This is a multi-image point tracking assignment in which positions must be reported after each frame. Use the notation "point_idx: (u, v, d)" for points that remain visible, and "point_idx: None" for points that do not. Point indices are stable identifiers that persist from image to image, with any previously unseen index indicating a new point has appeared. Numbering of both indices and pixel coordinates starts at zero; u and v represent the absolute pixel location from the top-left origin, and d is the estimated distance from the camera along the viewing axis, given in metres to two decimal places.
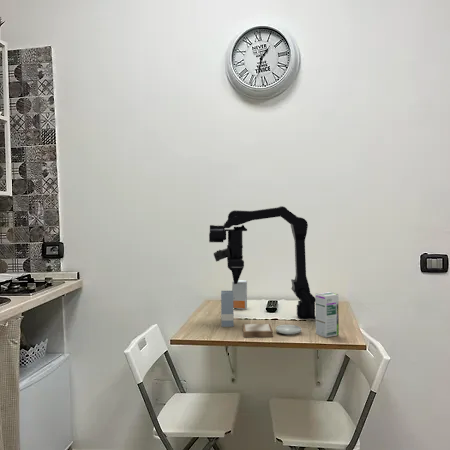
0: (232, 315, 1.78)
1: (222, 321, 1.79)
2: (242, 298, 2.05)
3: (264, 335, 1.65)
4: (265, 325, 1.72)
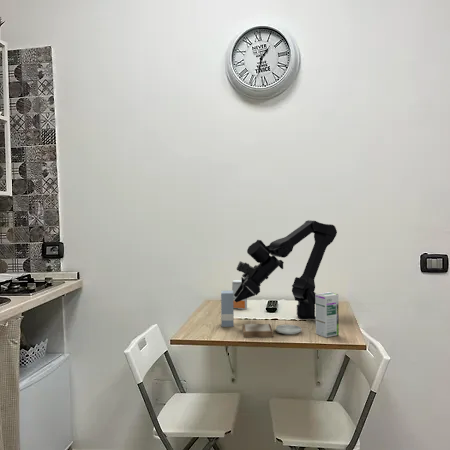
0: (232, 315, 1.78)
1: (222, 321, 1.79)
2: None
3: (264, 335, 1.65)
4: (265, 325, 1.72)
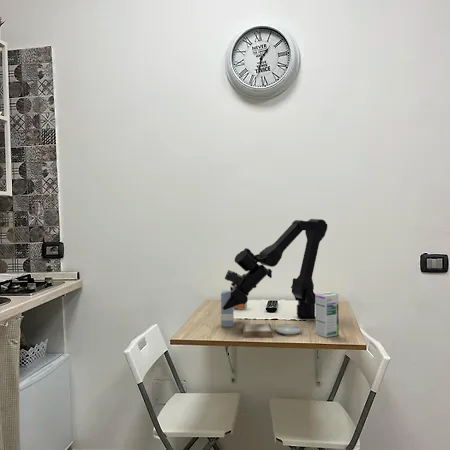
0: (232, 315, 1.78)
1: (221, 321, 1.79)
2: None
3: (264, 335, 1.65)
4: (265, 325, 1.72)
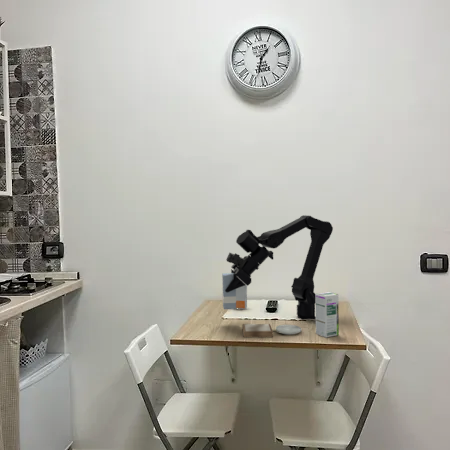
0: (234, 297, 1.77)
1: (224, 304, 1.77)
2: (242, 298, 2.05)
3: (264, 335, 1.65)
4: (265, 325, 1.72)
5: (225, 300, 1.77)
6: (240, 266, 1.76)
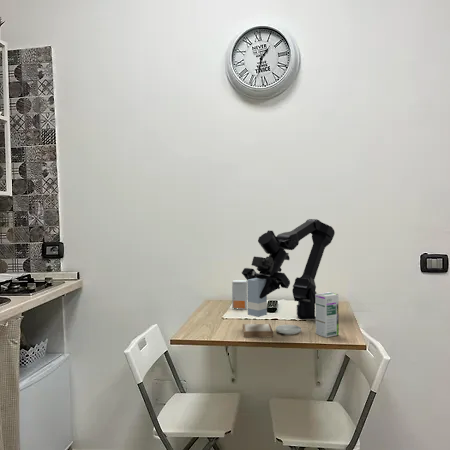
0: (266, 303, 1.69)
1: (258, 311, 1.67)
2: (242, 298, 2.05)
3: (264, 335, 1.65)
4: (265, 325, 1.72)
5: (259, 307, 1.67)
6: (270, 269, 1.70)
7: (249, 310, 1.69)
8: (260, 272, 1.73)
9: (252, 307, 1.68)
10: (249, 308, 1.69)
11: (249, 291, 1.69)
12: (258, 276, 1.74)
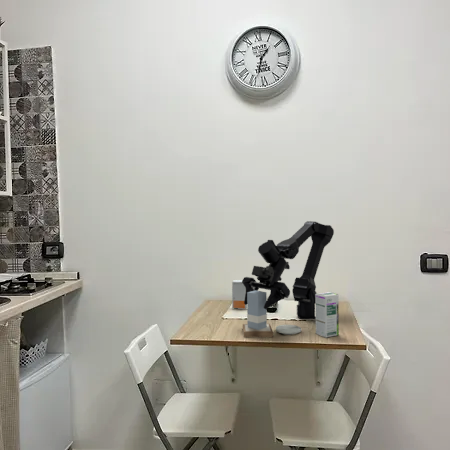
0: (265, 315, 1.69)
1: (258, 324, 1.67)
2: (242, 298, 2.05)
3: (264, 335, 1.65)
4: None
5: (259, 320, 1.67)
6: (270, 279, 1.70)
7: (249, 323, 1.70)
8: (260, 281, 1.73)
9: (252, 319, 1.69)
10: (249, 321, 1.70)
11: (249, 304, 1.69)
12: (258, 285, 1.74)
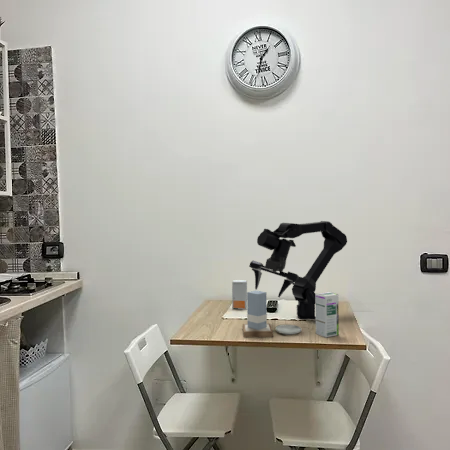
0: (265, 315, 1.69)
1: (258, 324, 1.67)
2: (242, 298, 2.05)
3: (264, 335, 1.65)
4: None
5: (259, 320, 1.67)
6: None
7: (249, 323, 1.70)
8: None
9: (252, 319, 1.69)
10: (249, 321, 1.70)
11: (249, 304, 1.69)
12: (266, 270, 1.83)
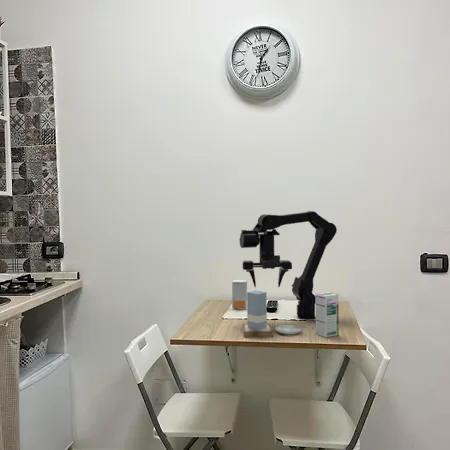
0: (265, 315, 1.69)
1: (258, 324, 1.67)
2: (242, 298, 2.05)
3: (264, 335, 1.65)
4: None
5: (259, 320, 1.67)
6: None
7: (249, 323, 1.70)
8: (262, 263, 1.84)
9: (252, 319, 1.69)
10: (249, 321, 1.70)
11: (249, 304, 1.69)
12: (259, 266, 1.85)
